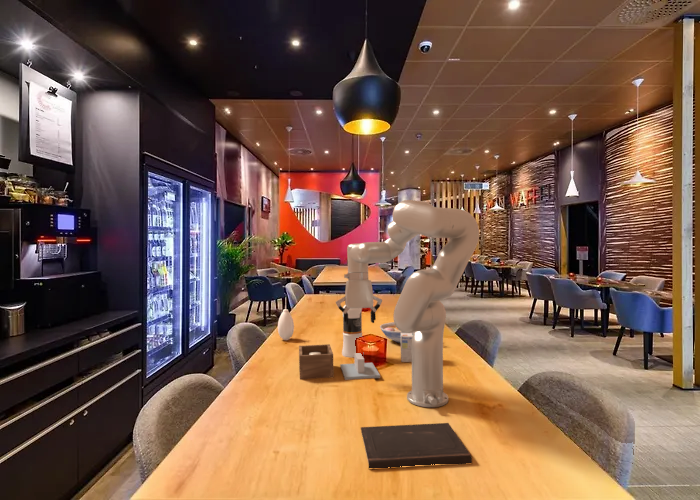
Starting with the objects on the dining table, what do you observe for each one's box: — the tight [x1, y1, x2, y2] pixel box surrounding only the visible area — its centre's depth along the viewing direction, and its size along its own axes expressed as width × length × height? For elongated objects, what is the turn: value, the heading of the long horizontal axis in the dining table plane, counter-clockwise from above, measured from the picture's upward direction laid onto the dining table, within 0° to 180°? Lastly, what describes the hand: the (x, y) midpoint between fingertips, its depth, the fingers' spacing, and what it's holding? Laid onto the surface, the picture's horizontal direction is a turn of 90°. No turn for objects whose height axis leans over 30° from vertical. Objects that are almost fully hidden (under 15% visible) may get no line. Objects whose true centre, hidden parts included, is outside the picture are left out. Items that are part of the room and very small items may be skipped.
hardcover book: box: [360, 422, 473, 469], centre depth 94 cm, size 16×23×2 cm
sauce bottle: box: [277, 304, 295, 341], centre depth 199 cm, size 8×8×18 cm
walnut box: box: [298, 343, 335, 380], centre depth 147 cm, size 14×12×9 cm
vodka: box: [341, 304, 363, 358], centre depth 169 cm, size 9×9×30 cm
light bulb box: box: [400, 333, 413, 363], centre depth 163 cm, size 11×7×11 cm, turn 84°
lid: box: [339, 353, 381, 381], centre depth 147 cm, size 15×13×7 cm
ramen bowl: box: [379, 321, 404, 344], centre depth 193 cm, size 25×23×8 cm
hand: (359, 323), depth 146 cm, fingers open, 9 cm apart
